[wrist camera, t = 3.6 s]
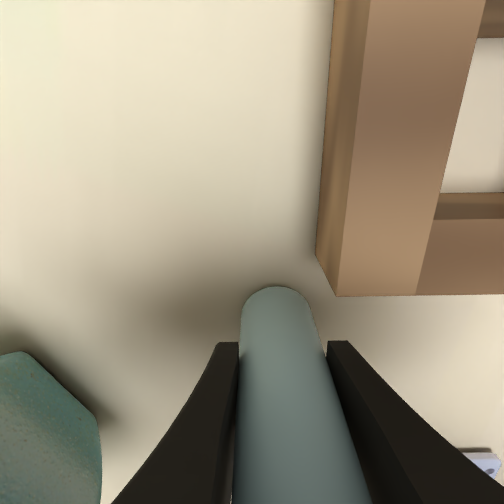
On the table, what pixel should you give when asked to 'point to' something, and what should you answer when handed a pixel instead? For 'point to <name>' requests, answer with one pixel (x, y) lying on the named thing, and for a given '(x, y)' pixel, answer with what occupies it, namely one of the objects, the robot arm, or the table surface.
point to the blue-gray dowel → (289, 411)
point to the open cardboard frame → (404, 153)
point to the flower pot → (45, 439)
